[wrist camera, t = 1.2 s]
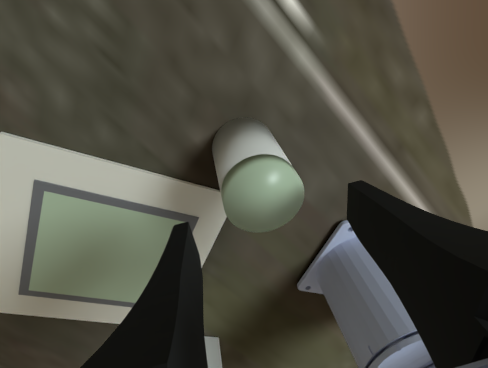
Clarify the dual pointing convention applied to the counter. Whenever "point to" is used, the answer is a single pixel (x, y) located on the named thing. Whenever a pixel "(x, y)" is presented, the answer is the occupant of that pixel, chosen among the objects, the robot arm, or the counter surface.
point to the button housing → (213, 352)
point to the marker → (255, 177)
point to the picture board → (88, 230)
